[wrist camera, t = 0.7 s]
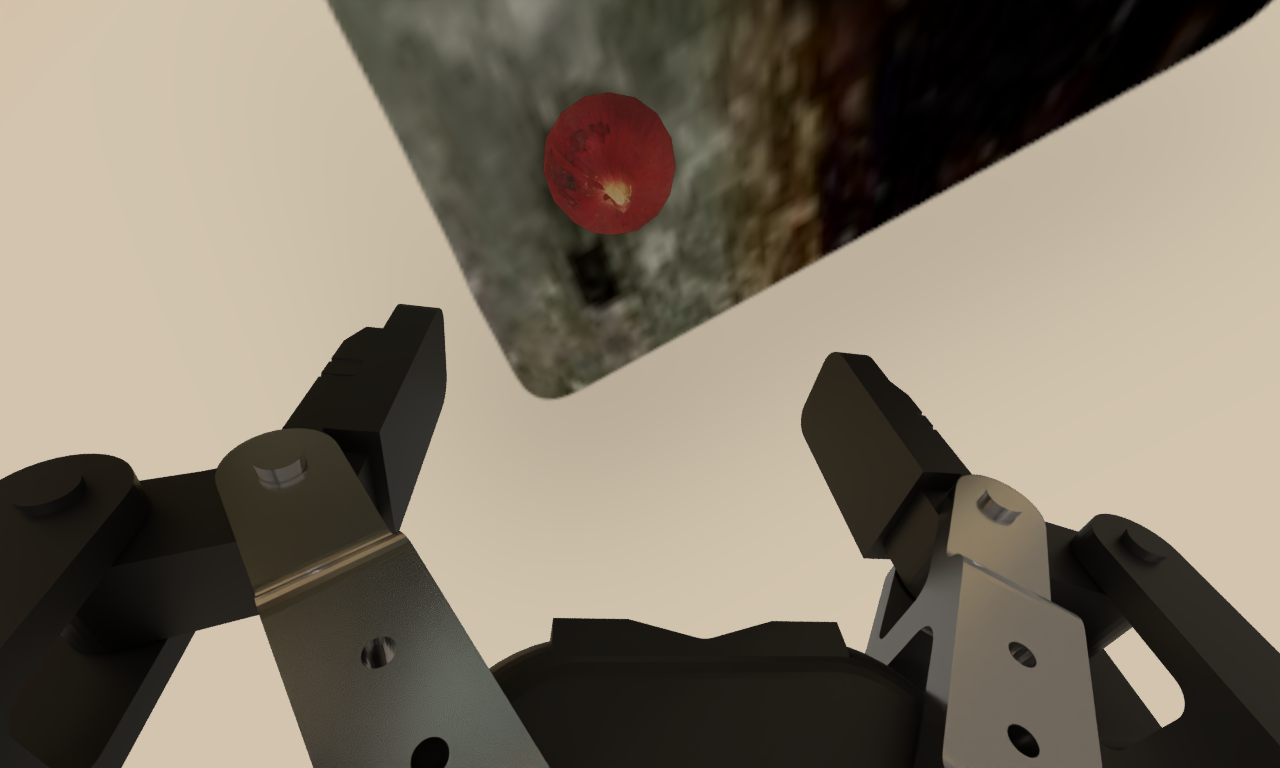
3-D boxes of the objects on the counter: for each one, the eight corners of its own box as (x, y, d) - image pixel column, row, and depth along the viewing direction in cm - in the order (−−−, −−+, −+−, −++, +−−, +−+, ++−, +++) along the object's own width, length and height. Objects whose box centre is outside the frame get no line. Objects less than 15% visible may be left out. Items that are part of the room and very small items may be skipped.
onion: (544, 195, 28) (532, 256, 21) (553, 70, 24) (542, 98, 18) (652, 212, 29) (671, 275, 22) (675, 94, 25) (706, 129, 19)
